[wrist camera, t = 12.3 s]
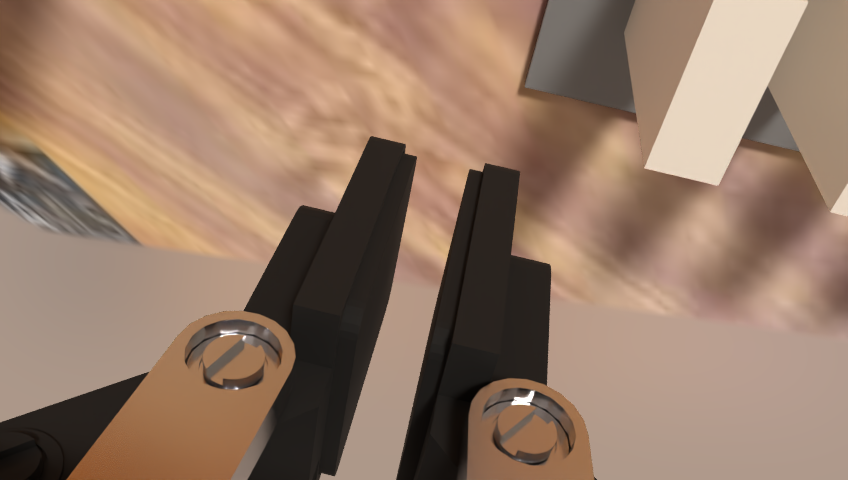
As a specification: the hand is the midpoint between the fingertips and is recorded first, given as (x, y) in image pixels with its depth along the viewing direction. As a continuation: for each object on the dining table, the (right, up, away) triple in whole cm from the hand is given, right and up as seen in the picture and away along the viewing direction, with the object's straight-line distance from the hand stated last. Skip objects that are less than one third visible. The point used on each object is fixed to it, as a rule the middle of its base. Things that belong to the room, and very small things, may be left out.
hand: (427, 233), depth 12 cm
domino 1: (+9, +9, +15) cm, 19 cm away
